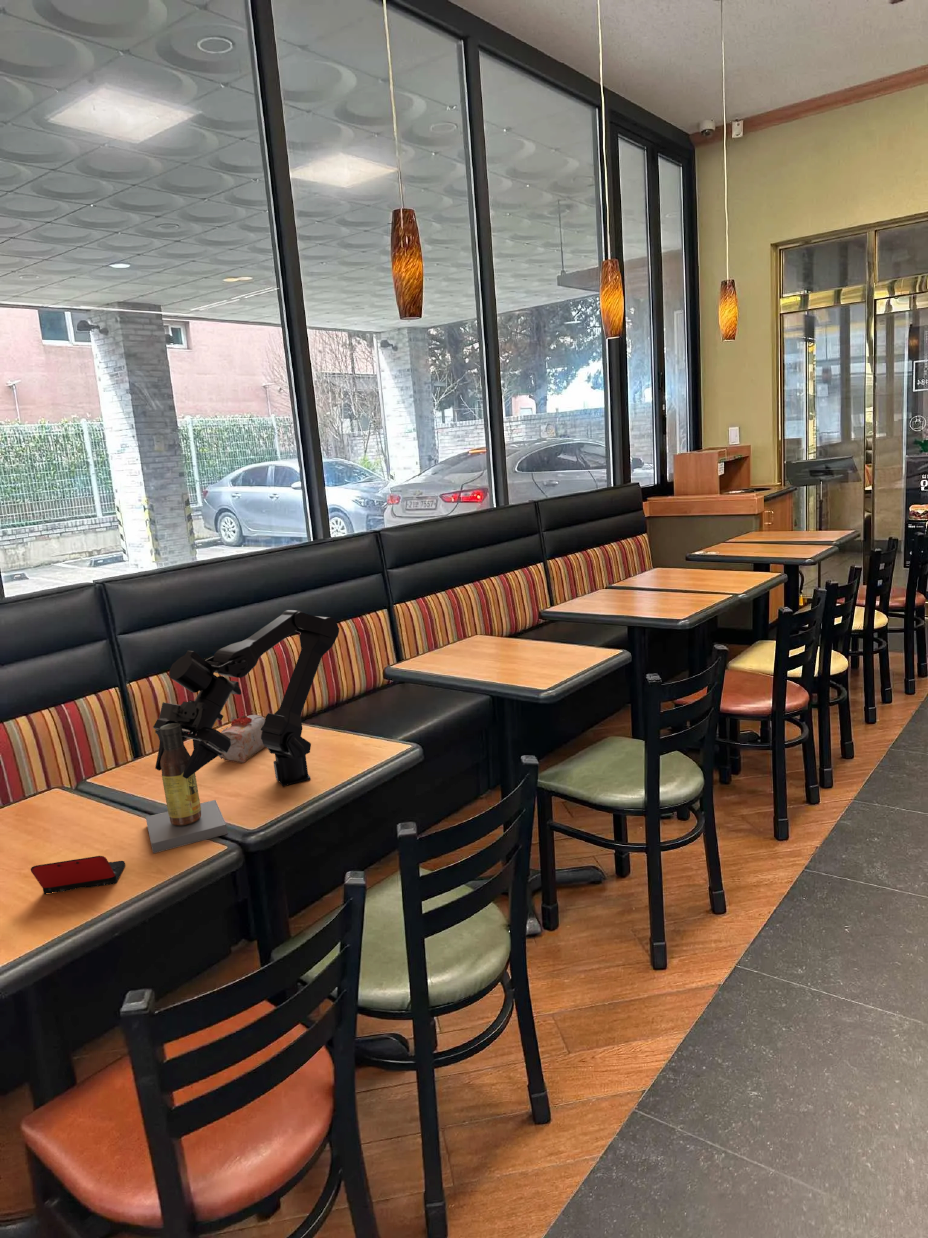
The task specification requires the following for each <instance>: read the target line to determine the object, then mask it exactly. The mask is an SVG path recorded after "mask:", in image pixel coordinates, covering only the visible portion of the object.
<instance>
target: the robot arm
mask: <svg viewBox="0 0 928 1238" xmlns="http://www.w3.org/2000/svg"><path fill="white" fill-rule="evenodd" d="M294 632H297V633H299V644H300V653H299V655H298V657H297V660H296V664H295V666H294V668H293V671H292V674H291V675H290V676H291V677H290V680H289V682H288V685H287V687H286V690H285V693H284V695H283V698H282V700H281V704H280V706H279V708H278V710H277V711H275V712H274V713H270V712H269V713H267V714H266V716H265V723H264V725H263V727H262V728H261V730H262V734H261V740H262V742H263V744H264V746H265V747H264V748H267V750H268V752H269V753H270V754H272V755H274V756H275V757H274V758H275V760H273V769H274V775H275V779H276V780H277V782H279V783H280V785H281V786H282V787H285V786H289V785H295V784H297V783H302V782H305V781H310V780H311V776H310V775H309V772H308V770H309V769H308V763H307V757H306V755H307V754H310V753H311V748H312V743H311V742H310V741H308V740H307V739H305V738H303V737H302V733H303V723H302V722H303V721H302V713H303V710H304V707H305V705H306V701H307V698H308V696H309V693H310V690H311V689H312V688H311V687H312V686H313V682H314V680H315V676H316V674H317V670H318V668H319V665H320V663H321V660H322V658H323V656H324V655H325V654H326V653H328V651H330V650H331V648H333V646H334V644H335V642H336V640H337V639H338V636H339V633H340V627H339V624H338V622H337V620H336V619H334V617H331V616H329V617H328V616H317V615H311V614H308V613H307V612H303V611H301V610H294V609H286V610H285V611H283V612H282V613H281V614H280V615H279V616H278V617H276V618H275V619H273V620H272V621H271V622H269V623H268V624H266V625H265V626H263V627H262V628H260V629H258V631H256V632H255V633H254V634H252V635H251V636H249V637H248V638H246V639H244V640H242V641H237V642H234V643H230V644H229V645H226V646H224V647H222V648H219V649H218V650H216V652H214V654H213V655H212V656H211V657H209V658H207V659H204V658H202V657H201V656H200V655H199V654H198V652H196V651H194V650H187V652H186V653H185V654H184V655H182V656H180V657H179V658H178V659H177V660H175V662H173V663H172V664H171V666H170V668H169V673H168V676H169V679H171V680H172V681H174V682H176V684H178V685H180V686H181V687H183V688H184V689H186V690H188V691H189V692H190V693H193V694H194V693H197V695H196V698H195V699H194V700H191V699H189V700H188V701H183V702H182V703H181V704H175V703H169V702H162V703H161V707H160V713H159V716H158V718H157V719H156V721H155V723H154V725H153V726H152V728H153V729H154V730H155V731H154V732H155V734H156V735H157V737H158V739H159V740H158V741H159V743H158V744H159V747H158V751H157V752H158V753H157V758H156V761H155V762H156V763H155V766H154V767H155V770H157V771H161V766H160V760H161V756H162V755H163V752H164V748H163V739H162V736H161V734H160V727H162V726H164V725H167V724H171V723H179V724H181V727H182V738H183V742H185V741H186V740H187V739H189V740H192V745H193V748H192V749H193V750H192V753H191V754H190V756H191V757H190V759H189V761H188V763H187V766H186V768H185V770H184V773H183V777H184V778H186V779H187V778H189V777H190V776H191V775H193V774H194V773H195V774H196V772H197V771H199V770H200V769H201V768H203V767H204V766H206V765H208V764H209V763H210V762H211V761H213V760H214V759H217V757H219V756H221V755H222V753H220V752H224V753H227V752H228V750H229V749H230V747H231V739H230V738H228V737H227V736H225V735H224V734H222V733H221V732H222V731H221V732H220V731H219V730H217V729H216V728H213V727H214V725H215V723H216V722H217V721H222V719H223V718H224V715H223V714H221V712H222V711H223V709H224V707H225V705H226V703H227V701H228V700H229V699H230V696H231V694H233V695H238V696H240V695H242V690H241V688H240V685H239V684H240V683H239V681H236V680H229V679H228V678H226V677H231V678H237V679H241V678H244V677H246V676H247V675H248V674H250V672H251V671H252V670H253V669H254V668H255V667H256V666H257V663H258V661H259V659H260V658H261V657H262V656H263V655H264V654H266V653H267V652H268V651H270V650H271V649H272V648H273V647H275V646H276V645H278V644H279V643H280V642H282V641H283V640H286V638H288V637H289V636H291V635H292V634H293V633H294ZM216 674H218V675H219V676H217V675H216Z"/></svg>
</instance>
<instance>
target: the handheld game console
mask: <svg viewBox="0 0 928 1238" xmlns="http://www.w3.org/2000/svg"><path fill="white" fill-rule="evenodd" d="M125 867H126V862H125V860H118V861H108V859H107V858H106V857H105V856H104V855H96V856H89V857H88V856H87V857H83V858H82V857H81V858H76V859H71V860H70V859H69V860H63V861H62V860H61V861H56V862H50V863H46V864H45V863H44V864H38V865H33V866H31V868H30V871H31V874H32V875H33V876H34V878H35V879H36V880H37V883H39V885H40V887H41V888H42V890H43V891H42V892H43V895H47V894H46V893H52V892H57V893H63V891H64V892H70V891H73V890H76V889H79V888H80V889H81V888H84V889H86V888H96V887H102V886H109V885H115V884H117V883H118V880H119V879H120V876H121V875H122V873H123V871H124V870H125ZM75 888H76V889H75ZM52 894H53V893H52Z"/></svg>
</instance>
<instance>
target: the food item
mask: <svg viewBox="0 0 928 1238" xmlns="http://www.w3.org/2000/svg"><path fill="white" fill-rule="evenodd" d="M265 719H266V717H263V716H262V715H258V714H250V715H247V716H246V715H242V716H241V717H238V718H236V717H234V716H232V717H231V718H230V720H231V721H230V726H229V727H228V726H227V727H226V728H224V729H223V730H221V733H222V734H224V735H225V736H227V737H228V738H230V739H231V747H230V749H229V750H228V752H227V753H224V752H220V753H222V755H221V756H218V758H220V760H224V761H228V762H231V763H238V764H239V763H241V764H244V763H246V761H248V760H249V759H250V758H251V757H253V756H254V755H256V754H257V753H258V752H260V751H262V750H263V749H264V748H266V747H265V746H264V744H263V742H262V740H261V734H262V730H261V728H262V727H263V725H264V723H265Z"/></svg>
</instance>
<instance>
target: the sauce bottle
mask: <svg viewBox="0 0 928 1238" xmlns="http://www.w3.org/2000/svg"><path fill="white" fill-rule="evenodd" d="M160 734H161V736H162V739H163V748H164V752H163V755H162V756H161V760H160V766H161V770H160V771H161V780H162V785H163V791H164V795H165V802H166V808H167V811H168V814H169V817H170V822H171V824H173V825H176V826H183V825H188V824H191V823H193V822H196V821H197V820H198V819H200V817H201V805H200V803H201V800H200V795H199V794H200V793H199V789H198V783H197V778H196V777H197V776H196V772H195V773H194V774H193V775H191V776H190V777H189V778H187V779H186V778H184V777H183V773H184V770H185V768H186V766H187V763H188V761H189V759H190V757H191V754H190V753H189V751H188V750H187V747H186V746H185V744H184V742H185V741H183V738H182V727H181V724H179V723H171V724H167V725H164V726H162V727H160Z"/></svg>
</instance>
